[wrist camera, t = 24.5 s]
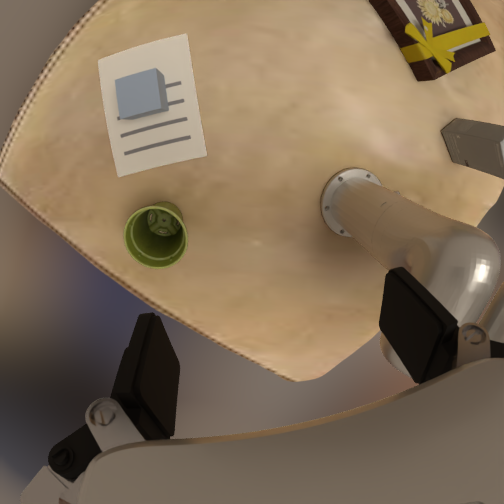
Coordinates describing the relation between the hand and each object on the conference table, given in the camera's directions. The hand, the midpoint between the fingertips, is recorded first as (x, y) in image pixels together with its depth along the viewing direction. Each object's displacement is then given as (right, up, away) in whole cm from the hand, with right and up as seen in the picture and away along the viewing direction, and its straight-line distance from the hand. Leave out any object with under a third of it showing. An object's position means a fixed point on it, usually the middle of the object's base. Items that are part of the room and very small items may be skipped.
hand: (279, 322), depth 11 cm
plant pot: (-15, +8, +35) cm, 39 cm away
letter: (-17, +26, +26) cm, 40 cm away
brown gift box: (+33, +53, +20) cm, 66 cm away
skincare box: (+42, +26, +33) cm, 59 cm away
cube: (-17, +26, +25) cm, 40 cm away
